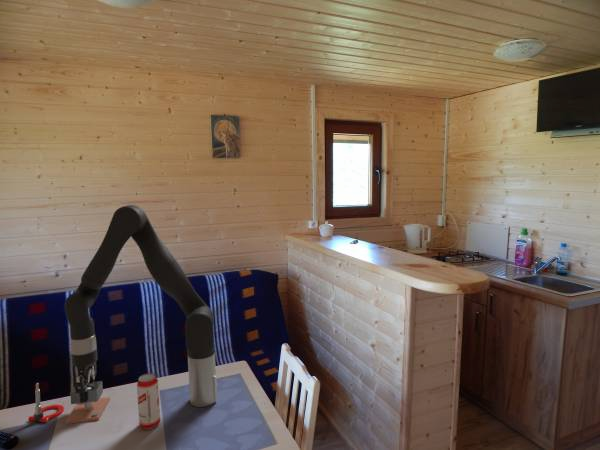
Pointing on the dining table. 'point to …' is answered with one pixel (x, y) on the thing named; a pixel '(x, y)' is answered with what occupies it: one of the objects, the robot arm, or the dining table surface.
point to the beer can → (148, 401)
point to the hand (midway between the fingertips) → (87, 396)
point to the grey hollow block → (88, 393)
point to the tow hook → (43, 409)
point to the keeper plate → (88, 411)
